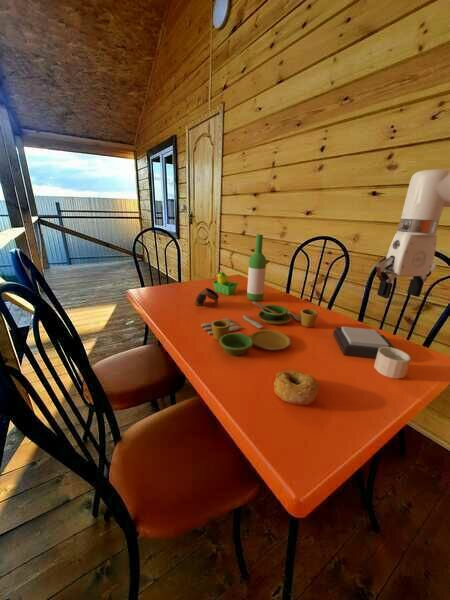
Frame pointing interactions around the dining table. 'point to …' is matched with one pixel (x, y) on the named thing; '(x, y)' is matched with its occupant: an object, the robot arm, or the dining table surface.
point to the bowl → (392, 362)
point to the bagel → (296, 387)
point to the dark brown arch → (209, 294)
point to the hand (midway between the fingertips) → (398, 295)
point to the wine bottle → (256, 272)
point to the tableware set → (262, 338)
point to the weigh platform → (363, 337)
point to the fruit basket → (224, 284)
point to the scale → (356, 346)
